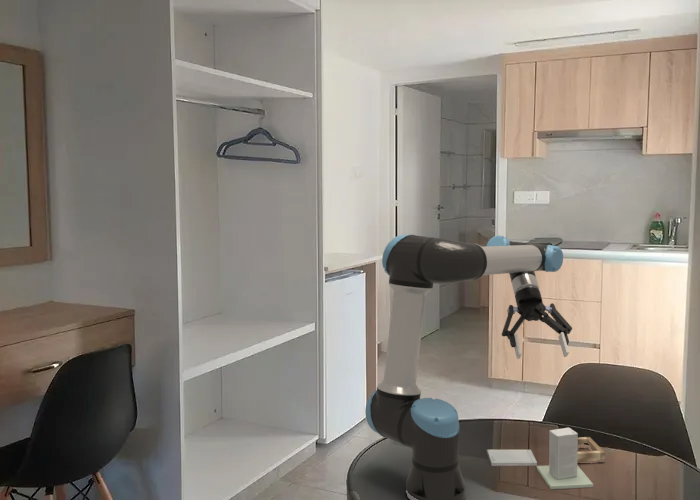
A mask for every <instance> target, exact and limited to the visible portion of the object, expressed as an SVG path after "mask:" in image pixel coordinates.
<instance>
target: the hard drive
mask: <svg viewBox="0 0 700 500" xmlns="http://www.w3.org/2000/svg"><path fill="white" fill-rule="evenodd" d="M486 455H487V458H488V461H489V463H490V465H491V466H492V467H506V466H507V467H524V466H525V467H535V466H536V467H537V466H538V461H537V460H536V458H535V455H534V453H533V451H532V450H531V449H486Z"/></svg>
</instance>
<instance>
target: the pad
mask: <svg viewBox="0 0 700 500" xmlns="http://www.w3.org/2000/svg"><path fill="white" fill-rule="evenodd" d="M536 470H537V472H538V473H539V475H540V476H541V478H542V479H543V480H544V482H545V483H546V484H547V486H548V487H549V489H550V490H563V489H564V490H565V489H580V488H581V489H583V488H585V489H586V488H594V483H593V482H592V481H591V480H590V479H589V477H588V476H587V475H586V473H585V472H584V471H583V470H582V469H581V468H580V466H579V464H577V476H576V477H570V478H564V479H559V480H557V479H556V478H555V477H554V476H552V475H551V474H550V473H549V464H548V465H537V466H536Z"/></svg>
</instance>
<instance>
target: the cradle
mask: <svg viewBox="0 0 700 500" xmlns="http://www.w3.org/2000/svg"><path fill="white" fill-rule="evenodd" d="M584 443H588V444H589V446H590V447H591V449H592V450H593V451H589V450H585V451H583V450H582V451H578V455H577V463H580V462H590V461H597V460H601V459H606V452H605V451H604V450H603V449H602V447H600V446H599V445H598V444H597V442H595V441H594V439H592V438H591V436H584V437H583V436H581V437H579V436H578V445H580V444H584Z"/></svg>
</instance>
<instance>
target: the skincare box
mask: <svg viewBox="0 0 700 500" xmlns="http://www.w3.org/2000/svg"><path fill="white" fill-rule="evenodd" d="M548 432H549V435H548V436H549V439H548V440H549V441H548V445H549V446H548V447H549V449H548V452H549V453H548V454H549V456H548V457H549V458H548V465H549V473H550V474H551V475H552V476H554V477H555V478H556V479H557V480H559V479H564V478H570V477H576V476H577V465H578V464H577V455H578V452H579V451H578V450H579V449H578V438H579V436H578V435H579V434H578V432H576V431H575V430H573V429H572V428H570V427H564V428H563V427H562V428H557V429H550V430H549V431H548Z"/></svg>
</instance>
